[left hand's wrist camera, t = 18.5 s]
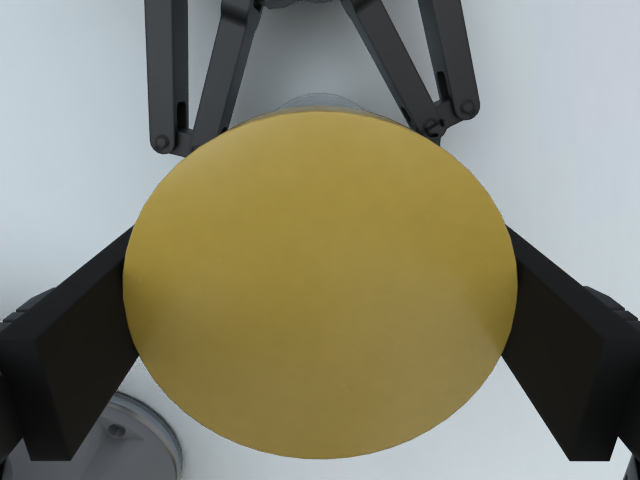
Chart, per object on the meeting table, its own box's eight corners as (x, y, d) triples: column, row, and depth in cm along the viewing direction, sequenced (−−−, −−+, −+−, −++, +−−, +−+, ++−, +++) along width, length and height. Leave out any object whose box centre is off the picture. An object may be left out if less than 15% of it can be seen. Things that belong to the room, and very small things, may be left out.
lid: (202, 429, 14) (185, 478, 12) (100, 141, 10) (57, 153, 9) (492, 390, 13) (518, 437, 12) (485, 73, 10) (519, 72, 8)
